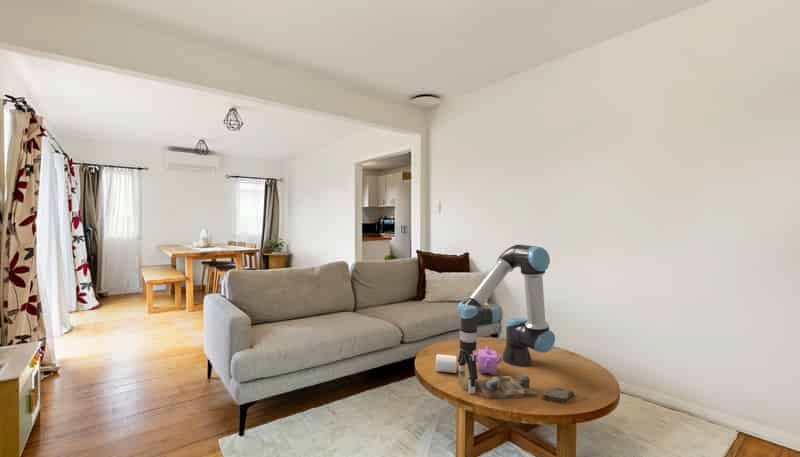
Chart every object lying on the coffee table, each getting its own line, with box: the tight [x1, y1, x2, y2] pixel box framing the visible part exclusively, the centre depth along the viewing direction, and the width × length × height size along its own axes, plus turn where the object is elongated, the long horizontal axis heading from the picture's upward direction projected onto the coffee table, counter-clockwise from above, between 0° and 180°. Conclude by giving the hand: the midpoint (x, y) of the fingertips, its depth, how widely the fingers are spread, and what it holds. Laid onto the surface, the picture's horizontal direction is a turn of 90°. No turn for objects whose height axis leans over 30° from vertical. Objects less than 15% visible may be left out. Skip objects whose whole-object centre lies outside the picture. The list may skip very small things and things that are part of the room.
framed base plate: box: [475, 375, 538, 400], centre depth 165 cm, size 23×15×3 cm, turn 99°
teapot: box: [473, 345, 503, 376], centre depth 184 cm, size 15×13×11 cm
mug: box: [435, 353, 458, 374], centre depth 185 cm, size 12×10×8 cm
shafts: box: [486, 375, 531, 392], centre depth 164 cm, size 22×6×4 cm, turn 99°
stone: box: [542, 386, 575, 404], centre depth 159 cm, size 15×8×3 cm, turn 132°
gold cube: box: [457, 370, 470, 391], centre depth 167 cm, size 6×6×6 cm
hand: (466, 385), depth 167 cm, fingers open, 13 cm apart
